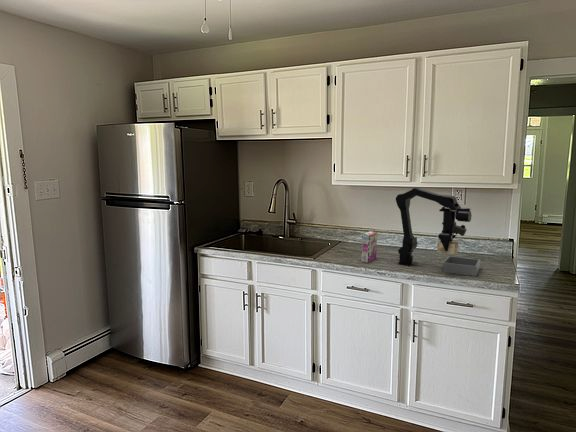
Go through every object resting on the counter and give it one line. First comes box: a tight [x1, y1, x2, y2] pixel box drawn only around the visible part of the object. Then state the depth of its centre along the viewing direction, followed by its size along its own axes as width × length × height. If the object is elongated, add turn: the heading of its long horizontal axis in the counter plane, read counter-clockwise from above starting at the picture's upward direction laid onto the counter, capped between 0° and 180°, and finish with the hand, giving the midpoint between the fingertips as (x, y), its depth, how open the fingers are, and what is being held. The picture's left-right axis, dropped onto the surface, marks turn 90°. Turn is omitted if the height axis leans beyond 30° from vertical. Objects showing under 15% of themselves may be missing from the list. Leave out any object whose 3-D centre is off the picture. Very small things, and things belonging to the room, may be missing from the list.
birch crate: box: [436, 239, 459, 255], centre depth 213 cm, size 9×6×5 cm
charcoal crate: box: [442, 255, 481, 277], centre depth 215 cm, size 16×16×5 cm
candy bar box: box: [360, 230, 378, 264], centre depth 234 cm, size 11×5×16 cm, turn 145°
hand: (447, 249), depth 213 cm, fingers closed on birch crate, 6 cm apart
